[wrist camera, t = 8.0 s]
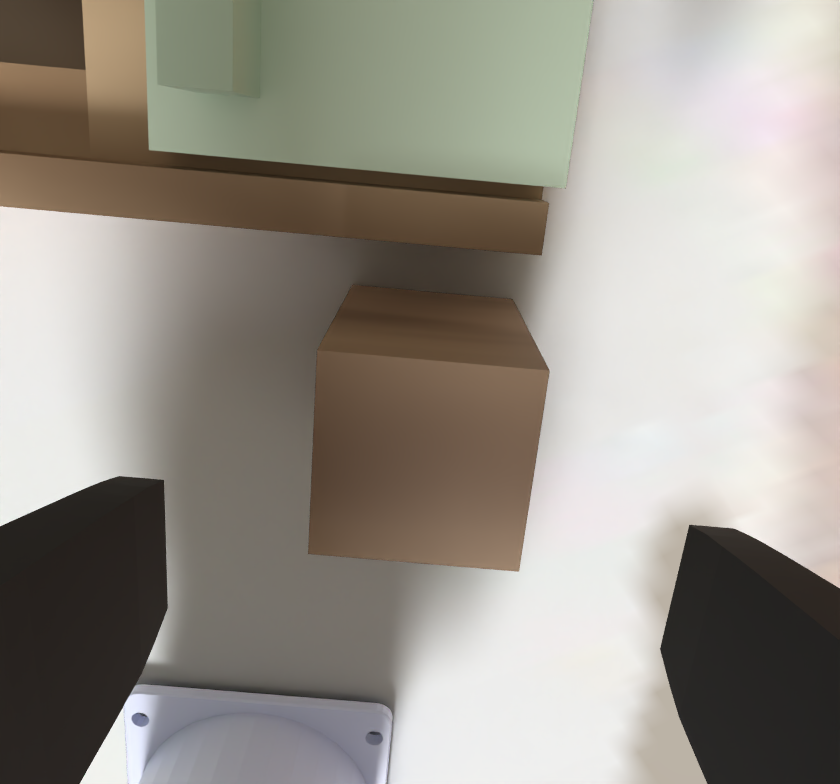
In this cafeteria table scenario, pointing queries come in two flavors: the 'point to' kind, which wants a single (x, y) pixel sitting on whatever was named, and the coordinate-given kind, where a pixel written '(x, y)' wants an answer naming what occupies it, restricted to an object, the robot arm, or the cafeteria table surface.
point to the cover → (371, 84)
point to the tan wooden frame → (201, 174)
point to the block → (425, 429)
